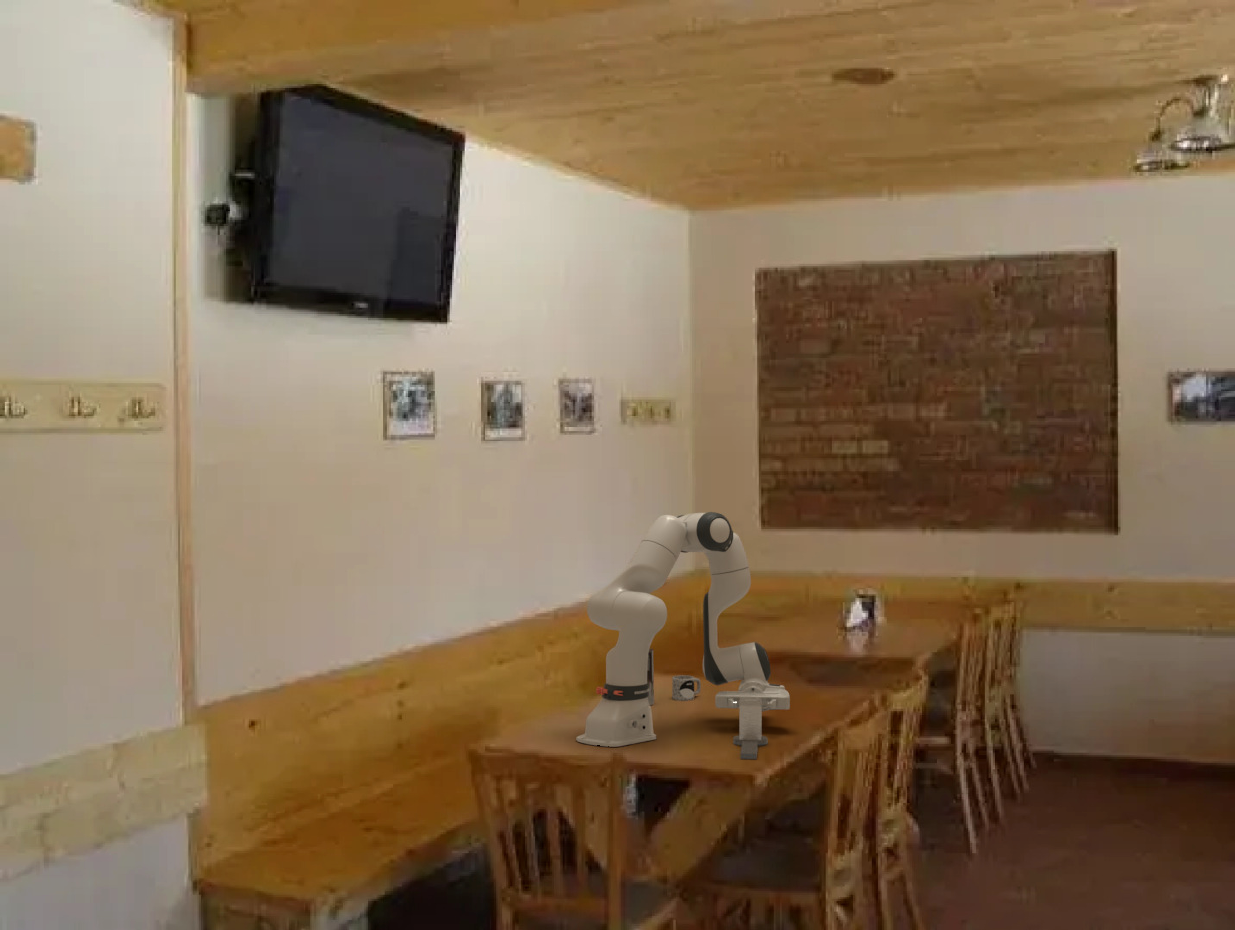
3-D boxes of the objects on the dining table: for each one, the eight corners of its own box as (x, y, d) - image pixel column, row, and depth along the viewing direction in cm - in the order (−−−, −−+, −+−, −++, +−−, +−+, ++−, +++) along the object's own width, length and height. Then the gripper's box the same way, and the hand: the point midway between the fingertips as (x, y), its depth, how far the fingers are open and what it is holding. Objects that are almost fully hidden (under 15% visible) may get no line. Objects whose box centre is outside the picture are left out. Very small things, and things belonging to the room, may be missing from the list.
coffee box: (654, 701, 459) (654, 648, 458) (652, 705, 452) (652, 651, 452) (624, 701, 460) (624, 648, 459) (622, 705, 453) (622, 651, 453)
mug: (681, 701, 459) (681, 679, 459) (668, 698, 464) (668, 676, 464) (707, 698, 465) (707, 676, 465) (693, 694, 470) (693, 673, 470)
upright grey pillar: (761, 740, 396) (760, 701, 396) (739, 739, 397) (739, 701, 396) (761, 736, 401) (761, 697, 401) (740, 735, 402) (740, 697, 402)
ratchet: (733, 739, 404) (733, 719, 404) (767, 740, 403) (767, 719, 403) (730, 759, 381) (730, 737, 381) (766, 759, 380) (766, 738, 380)
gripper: (715, 684, 422) (712, 693, 408) (789, 685, 419) (789, 694, 406) (715, 707, 422) (713, 716, 408) (789, 708, 420) (789, 718, 406)
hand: (751, 705), depth 407 cm, fingers open, 8 cm apart
